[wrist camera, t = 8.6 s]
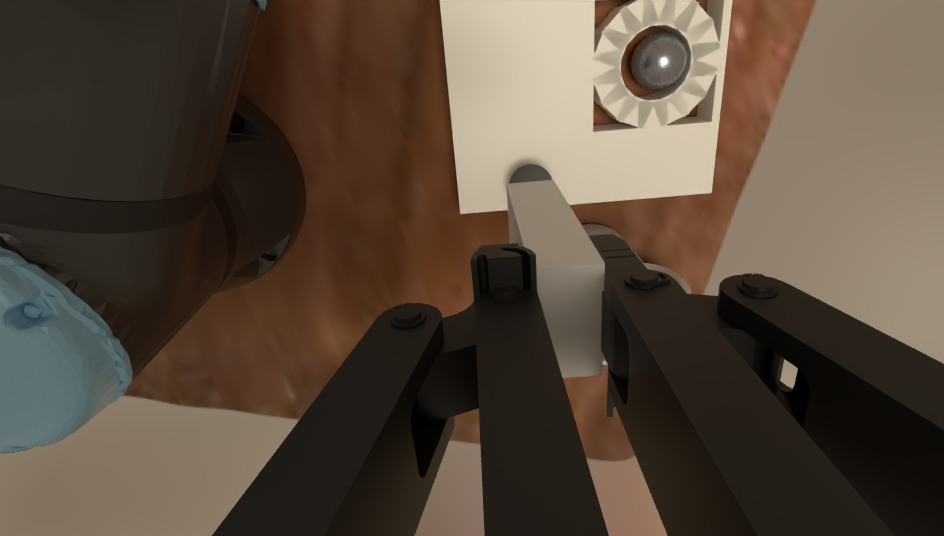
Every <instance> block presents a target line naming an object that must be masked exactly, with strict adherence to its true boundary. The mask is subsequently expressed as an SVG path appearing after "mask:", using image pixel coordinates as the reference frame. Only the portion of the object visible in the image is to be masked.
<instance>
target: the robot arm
mask: <svg viewBox="0 0 944 536" xmlns="http://www.w3.org/2000/svg"><path fill="white" fill-rule="evenodd" d="M266 4H267V0H0V454H3V453H4V454H5V453H15V452H20V451H25V450H29V449H32V448H34V447H38V446H45V445H50V444H53V443H56V442H58V441H60V440H62V439H64V438H66V437H68V436H69V435H71V434H73V433H74V432H76V431H77V430H78V429H80V428H81V427H82V426H84V425H85V424H86V423H87V422H88V421H89V420H90V419H92V418H93V417H94V416H95V415H96V414H98V413H99V412H100V411H101V410H102V409H104V408H105V407H106V406H107V405H109V404H111V403H112V402H114V401H116V400H117V399H118V398H119V397H120V396H122V395H123V394H124V393H125V392H126V391H127V388H128V385H129V383H130V382H131V381H132V380H133V379H134V378H135V377H136V376H137V375H138V374H139V373H140V372H141V371H142V369H143V368H144V367H145V366H146V365H147V364H148V363H149V362H150V361H151V360H152V359H153V358H154V357H155V356H156V355H157V354H158V352H159V351H160V350H161V349H162V348H163V347H164V346H165V345H166V344H167V343H168V342H169V341H170V340H171V339H172V338H173V337H174V336H175V334H176V333H177V332H178V331H179V330H180V329H181V328H182V327H183V326H184V325H185V324H186V323H187V322H188V321H189V320H190V319H191V317H192V316H193V315H194V314H195V313H196V312H197V311H198V310H199V309H200V308H201V307H202V306H203V305H204V304H205V303H206V302H207V300H208V299H209V298H210V297H211V296H212V295H213V294H216V293H219V292H222V291H225V290H228V289H232V288H235V287H238V286H241V285H244V284H247V283H249V282H251V281H253V280H255V279H257V278H259V277H260V276H262V275H263V274H265V273H266V272H267V271H269V270H270V269H271V268H272V267H274V266H275V265H276V264H277V263H278V261H279V260H280V259H281V258H282V257H283V256H284V254H285V253H286V252H287V251H288V250H289V248H290V247H291V246H292V244H293V243H294V241H295V239H296V237H297V235H298V233H299V231H300V228H301V225H302V222H303V218H304V213H305V202H306V199H305V186H304V180H303V176H302V172H301V169H300V166H299V163H298V161H297V158H296V156H295V154H294V152H293V150H292V148H291V146H290V145H289V143H288V141H287V140H286V138H285V137H284V136H283V134H282V133H281V132H280V130H279V129H278V128H277V127H276V126H275V124H274V123H273V122H272V121H271V120H270V119H269V118H268V117H267V116H266V115H265V114H264V113H262V112H261V111H260V110H259V109H258V108H256V107H255V106H254V105H252V104H251V103H249V102H248V101H246V100H245V99H243V98H241V97H240V96H238V92H239V88H240V85H241V81H242V77H243V73H244V70H245V66H246V62H247V58H248V55H249V51H250V47H251V43H252V40H253V36H254V32H255V28H256V24H257V21H258V17H259V13H260V11H265V7H266ZM506 188H507V205H508V222H509V239H510V244H501V245H489V246H480V247H479V249H478V250H477V251H476V252H475V253H474V254H473V256H472V258H471V270H472V280H473V291H474V302H473V303H472V305H471V306H470V307H468V308H467V309H466V310H464V311H462V312H460V313H458V314H455V315H452V316H448V317H445V318H442V314H441V312H440V311H439V310H438V308H436V307H433V306H431V305H428V304H421V303H414V304H412V303H406V304H403V305H397V306H395V307H393V308H391V309H389V310H387V311H385V312H383V313H382V314H381V315H380V316H379V317H378V318H377V319H376V320H375V321H374V323H373V324H372V325H371V327H370V328H369V329H368V331H367V332H366V333H365V335H364V336H363V337H362V339H361V340H360V341H359V343H358V344H357V345H356V346H355V348H354V349H353V350H352V352H351V353H350V354H349V356H348V357H347V358H346V360H345V361H344V362H343V364H342V365H341V366H340V368H339V369H338V370H337V372H336V373H335V374H334V375H333V377H332V378H331V379H330V381H329V382H328V383H327V385H326V386H325V387H324V389H323V390H322V391H321V393H320V394H319V395H318V397H317V398H316V399H315V400H314V402H313V403H312V404H311V406H310V407H309V408H308V410H307V411H306V412H305V414H304V415H303V416H302V418H301V419H300V420H299V422H298V423H297V424H296V426H295V427H294V428H293V430H292V431H291V432H290V434H289V435H288V436H287V437H286V439H285V440H284V441H283V443H282V444H281V445H280V447H279V448H278V449H277V451H276V452H275V453H274V455H273V456H272V457H271V459H270V460H269V461H268V462H267V464H266V465H265V466H264V468H263V469H262V470H261V472H260V473H259V474H258V476H257V477H256V478H255V480H254V481H253V482H252V484H251V485H250V486H249V487H248V489H247V490H246V491H245V493H244V494H243V495H242V497H241V498H240V499H239V501H238V502H237V503H236V505H235V506H234V507H233V509H232V510H231V511H230V513H229V514H228V515H227V517H226V518H225V519H224V520H223V522H222V523H221V524H220V526H219V527H218V528H217V530H216V531H215V532H214V534H213V535H212V536H414V535H415V533H416V530H417V527H418V524H419V522H420V519H421V516H422V513H423V511H424V507H425V505H426V502H427V500H428V497H429V494H430V491H431V489H432V486H433V483H434V480H435V478H436V475H437V472H438V469H439V467H440V464H441V461H442V459H443V456H444V453H445V450H446V448H447V445H448V442H449V439H450V437H451V434H452V431H453V428H454V420H455V419H454V416H455V415H458V414H461V413H465V412H468V411H471V410H474V409H477V408H479V419H480V442H481V463H482V486H483V509H484V531H485V536H609V535H608V532H607V528H606V525H605V521H604V518H603V514H602V511H601V508H600V504H599V501H598V497H597V494H596V491H595V487H594V484H593V480H592V477H591V474H590V470H589V467H588V463H587V460H586V456H585V453H584V449H583V446H582V443H581V439H580V436H579V432H578V429H577V426H576V422H575V419H574V415H573V412H572V408H571V405H570V402H569V398H568V395H567V391H566V388H565V384H564V381H563V378H569V377H582V376H595V375H602V368H603V355H604V358H605V360H606V362H607V365H608V390H607V417H613V408H614V407H615V406H616V409H617V411H618V414H619V416H620V419H621V421H622V424H623V426H624V428H625V431H626V433H627V436H628V438H629V441H630V443H631V446H632V448H633V451H634V453H635V456H636V458H637V461H638V463H639V466H640V468H641V471H642V472H643V476H644V478H645V481H646V483H647V485H648V488H649V490H650V493H651V495H652V498H653V500H654V503H655V505H656V508H657V510H658V512H659V515H660V518H661V520H662V523H663V525H664V527H665V530H666V532H667V535H668V536H944V364H943V363H941V362H939V361H937V360H935V359H933V358H931V357H929V356H927V355H925V354H923V353H921V352H920V351H918V350H916V349H914V348H912V347H910V346H908V345H906V344H904V343H902V342H900V341H898V340H896V339H894V338H892V337H890V336H888V335H886V334H884V333H882V332H881V331H879V330H877V329H875V328H873V327H871V326H869V325H867V324H865V323H863V322H861V321H859V320H857V319H855V318H853V317H851V316H850V315H848V314H845V313H844V312H842V311H840V310H838V309H836V308H834V307H832V306H830V305H828V304H826V303H824V302H822V301H820V300H818V299H816V298H814V297H813V296H810V295H808V294H807V293H805V292H803V291H801V290H799V289H797V288H795V287H793V286H791V285H789V284H787V283H785V282H783V281H780V280H777V279H774V278H771V277H766V276H764V275H761V274H754V275H752V274H743V275H735V276H731V277H728V278H726V279H724V280H723V281H722V282H721V283H720V286H719V294H718V296H709V295H696V294H688V293H686V291H685V290H684V289H683V288H682V287H681V286H680V284H679V283H678V282H677V281H676V280H675V279H674V278H673V277H671V276H670V275H668V274H666V273H664V272H660V271H656V270H650V269H647V268H646V267H645V265H644V264H643V263H642V261H641V260H640V259H639V258H638V256H636V254H635V253H634V251H633V250H631V247H630V246H629V245H628V244H627V242H626V241H625V240H623V239H621V238H619V237H617V236H615V235H613V234H603V235H591V236H588V235H587V233H586V232H585V230H584V228H583V227H582V225H581V224H580V222H579V220H578V219H577V217H576V215H575V214H574V212H573V211H572V209H571V207H570V206H569V204H568V202H567V201H566V199H565V198H564V196H563V194H562V193H561V191H560V190H559V188H558V186H557V185H556V183H555V181H554V180H546V181H534V182H523V183H511V184H506ZM784 359H785V360H787V361H788V362H790V363H791V364H793V365H794V366H796V367H797V368H798V371H797V376H796V381H795V385H794V387H793V389H792V388H790V387H788V386H786V385H785V384H783V383H782V382H781V381H780V378H781V373H782V368H783V363H784Z"/></svg>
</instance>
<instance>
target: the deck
mask: <svg viewBox="0 0 944 536" xmlns="http://www.w3.org/2000/svg"><path fill="white" fill-rule="evenodd" d="M595 1H606V0H440V9H441V20H442V30H443V40H444V51H445V61H446V71H447V82H448V92H449V102H450V113H451V123H452V133H453V144H454V154H455V164H456V175H457V185H458V195H459V206H460V214H466V213H478V212H490V211H502V210H508V205H507V188H506V184H509V181H510V178H511V176H512V175H513V173H514V172H515V171H516V170H517V169H518V168H520V167H521V166H524V165H527V164H536V165H539V166H541V167H543V168H545V169H546V170H547V171H548V172H549V174H550V175H551V177H552V180H554V181H555V183H556V185H557V186H558V188H559V190H560V191H561V193H562V194H563V196H564V198H565V199H566V201H567V202H568V204H569V205H573V204H585V203H597V202H609V201H621V200H632V199H644V198H656V197H668V196H680V195H692V194H704V193H711V192H712V183H713V174H714V164H715V155H716V146H717V137H718V128H719V119H720V109H721V100H722V91H723V82H724V73H725V63H726V54H727V45H728V36H729V27H730V18H731V8H732V0H707V8H706V12H705V11H704V10H703V9H702V8H701V7H700V5H699V3H698V2H696V1H695V0H630V1H628V2H626V3H624V4H622V5H621V6H619V7H615V8H614V9H613V10H611V11H610V12H609V14H608V16H607V17H606V18H605V19H604V20H603V21H602V23H601V24H600V25H599V26H598V27H596V29H595V31H594V13H595ZM650 26H655V27H658V28H661V29H663V30H665V31H666V32H667V33H671V34H674V35H676V36H677V37H678V38H680V39H681V40H682V42H683V43H684V45H685V47H686V50H687V54H688V60H687V65H686V68H685V71H684V73H683V74H682V76H681V77H680V78H679V79H678V80H677V81H676V82H675V83H674V84H672V85H671V86H669V87H666V88H663V89H660V90H658V91H656V92H654V93H652V94H650V95H647V96H634V95H633V94H632V93H631V92H630V91H629V90H628V89H627V88H626V87H625V84H624V82H623V79H622V76H621V59H622V56H623V54H624V51H625V49H626V46H627V44H628V43H629V42H630V41H631V40H632V39H633V38H634V37H635V35H636V34H637V33H639V32H641V31H643V30H644V29H646V28H648V27H650ZM593 100H594V102H595V103H596V104H598V105H599V106H600V107H601V108H602V109H603V110H604V111H605V112H606V113H607V115H609V116H610V117H612V118H614V119H615V120H617V121H619V122H624V123H616V124H604V125H593ZM697 104H698V107H697V116H696V117H685V116H686V115H687V114H689V112H690V111H691V110H692V109H693V108H694V107H695V106H696V105H697ZM681 117H685V118H681Z"/></svg>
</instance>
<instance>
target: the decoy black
mask: <svg viewBox="0 0 944 536" xmlns="http://www.w3.org/2000/svg"><path fill="white" fill-rule="evenodd" d="M546 180H552V177H551V175H550V174H549V172H548V171H547V170H546V169H545V168H543V167H541V166H539V165H536V164H527V165H524V166H521V167H520V168H518V169H517V170H516V171H515V172H514V173H513V175H512V176H511V178H510V181H509V184H511V183H523V182H534V181H546Z"/></svg>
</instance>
